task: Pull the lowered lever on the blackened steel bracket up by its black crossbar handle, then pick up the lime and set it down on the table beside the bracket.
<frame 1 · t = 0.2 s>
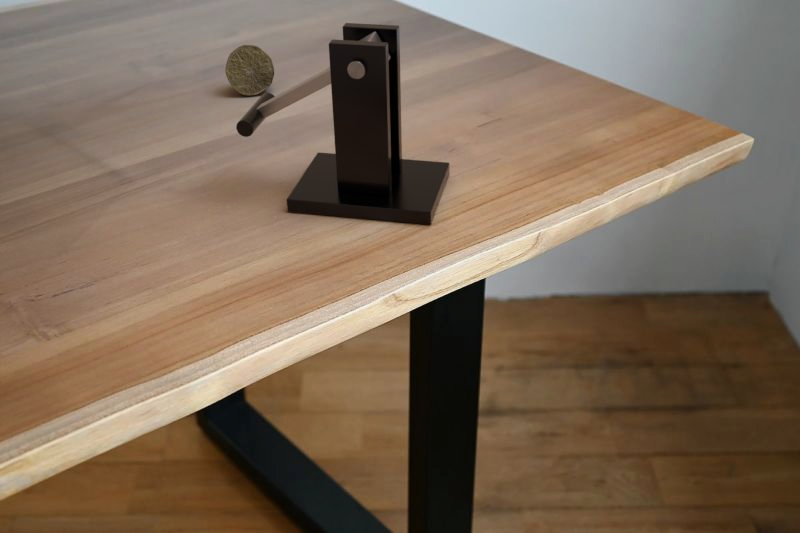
bracket: (371, 192, 77), on the table
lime: (251, 93, 97), on the table
lever: (313, 84, 73), point 9 cm above the table, hinge at -30.0°
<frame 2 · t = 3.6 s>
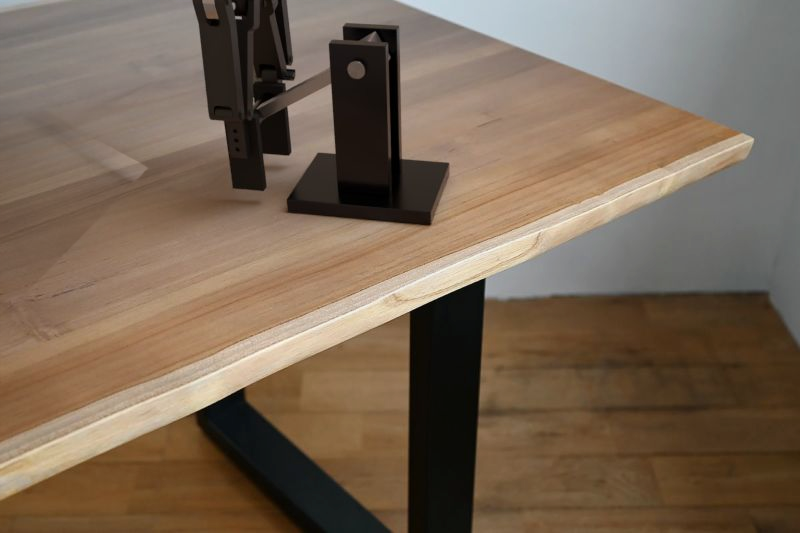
hand: (263, 169, 78), 1 cm above the table, tool pointing down, fingers closed on lever, 6 cm apart
lever: (313, 84, 73), point 9 cm above the table, hinge at -30.0°, touching gripper
everything else where it was.
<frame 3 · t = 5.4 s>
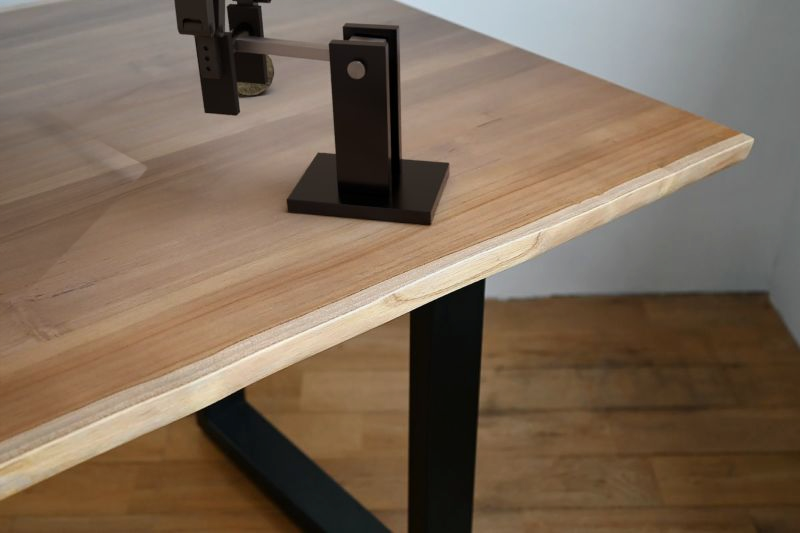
hand: (237, 95, 75), 8 cm above the table, tool pointing down, fingers closed on lever, 6 cm apart
lever: (302, 49, 72), point 12 cm above the table, hinge at 2.9°, touching gripper
everything else where it was.
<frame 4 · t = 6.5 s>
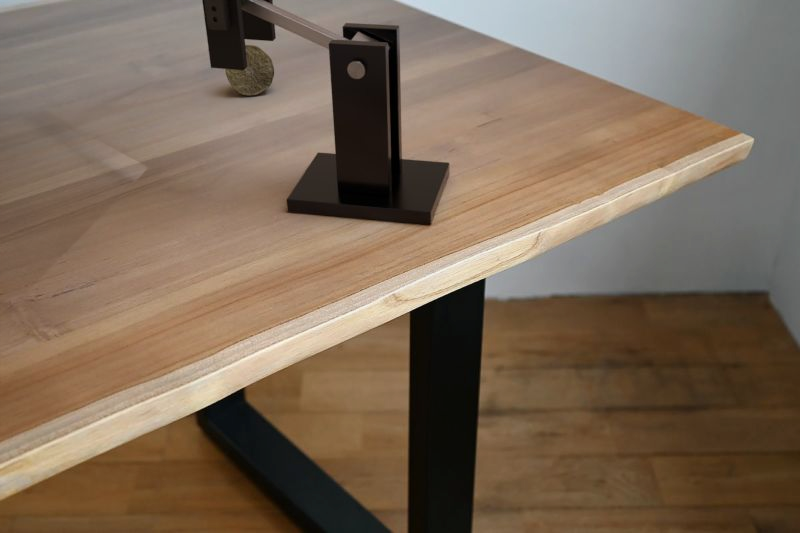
hand: (244, 51, 73), 12 cm above the table, tool pointing down, fingers closed on lever, 6 cm apart
lever: (305, 28, 71), point 14 cm above the table, hinge at 22.4°, touching gripper
everything else where it was.
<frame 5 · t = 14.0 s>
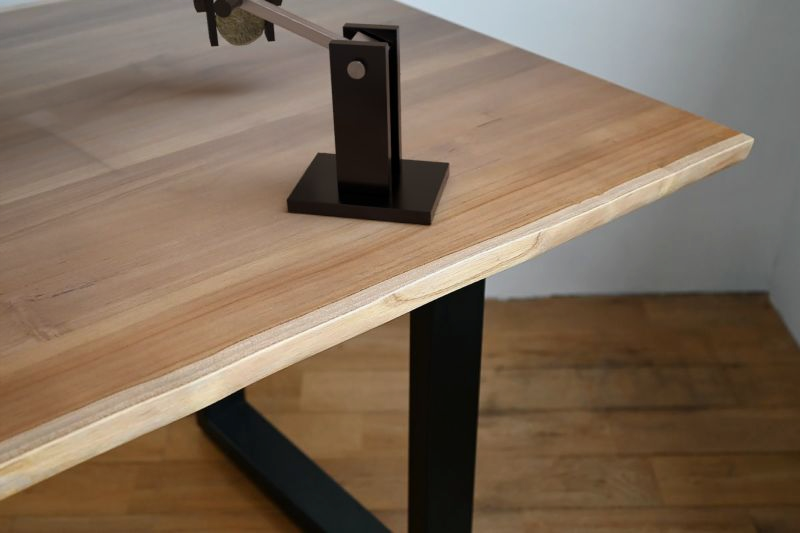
hand: (241, 39, 94), 6 cm above the table, tool pointing down, fingers closed on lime, 5 cm apart
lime: (241, 44, 94), point 5 cm above the table, touching gripper
lever: (305, 28, 71), point 14 cm above the table, hinge at 22.6°
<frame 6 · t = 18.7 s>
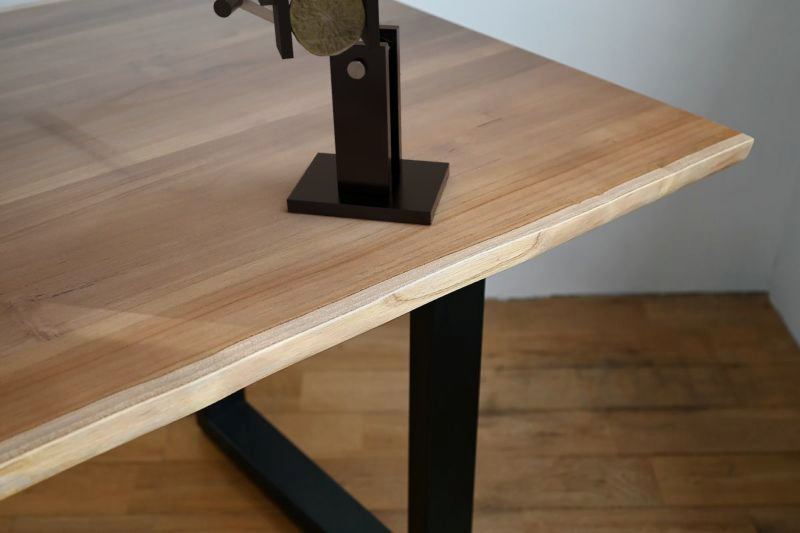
hand: (327, 46, 60), 16 cm above the table, tool pointing down, fingers closed on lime, 5 cm apart
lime: (327, 53, 61), point 16 cm above the table, touching gripper
everything else where it was.
when the fingers open (0 cm above the table, at t = 23.4 s): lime stays where it is, on the table.
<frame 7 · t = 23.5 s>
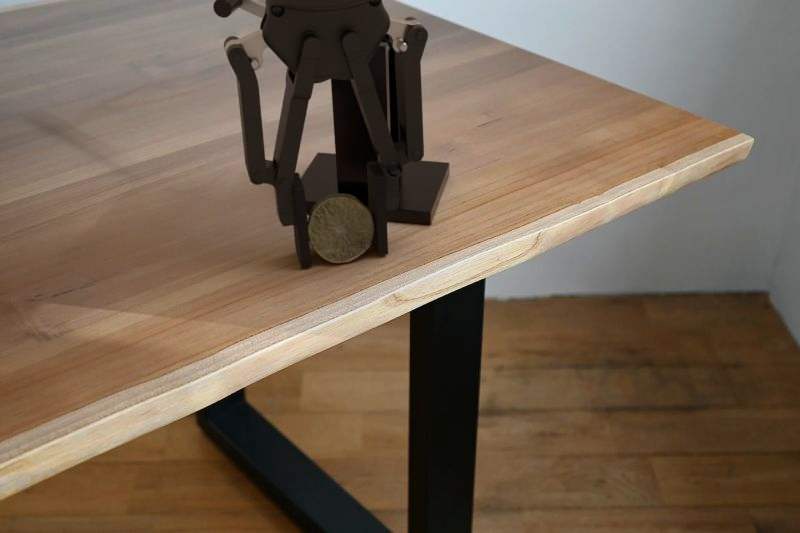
hand: (341, 251, 69), 0 cm above the table, tool pointing down, fingers open, 5 cm apart
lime: (340, 256, 69), on the table
everything else where it was.
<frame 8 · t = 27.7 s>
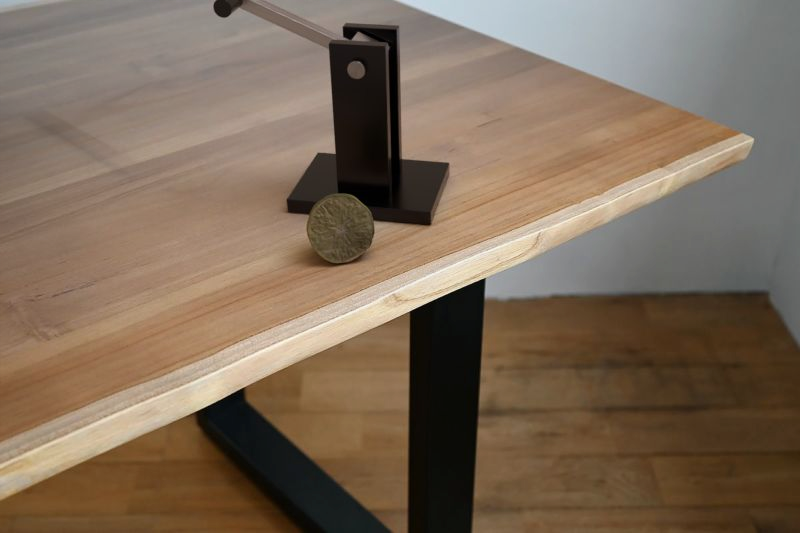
nothing on the table moved.
at the end: lever at +23° (first picture: -30°); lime inside the target area on the table beside the bracket (0.1 cm from its centre), on the table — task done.
